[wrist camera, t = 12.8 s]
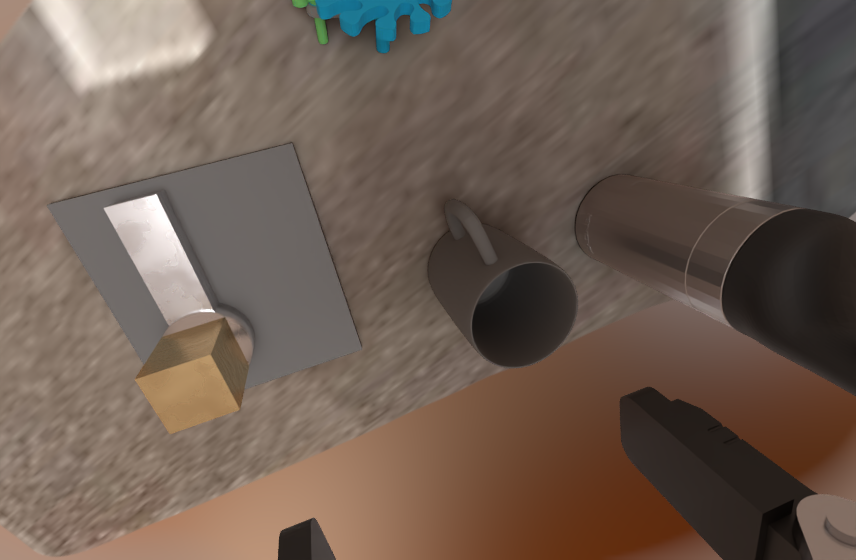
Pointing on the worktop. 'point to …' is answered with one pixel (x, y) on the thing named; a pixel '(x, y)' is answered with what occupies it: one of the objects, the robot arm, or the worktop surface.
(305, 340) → the mat
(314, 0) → the blue toy piece
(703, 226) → the robot arm
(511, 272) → the mug
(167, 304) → the ratchet
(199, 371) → the wooden toy cube
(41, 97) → the worktop surface
